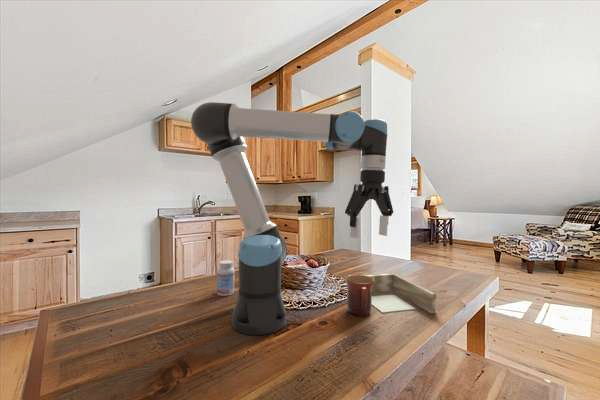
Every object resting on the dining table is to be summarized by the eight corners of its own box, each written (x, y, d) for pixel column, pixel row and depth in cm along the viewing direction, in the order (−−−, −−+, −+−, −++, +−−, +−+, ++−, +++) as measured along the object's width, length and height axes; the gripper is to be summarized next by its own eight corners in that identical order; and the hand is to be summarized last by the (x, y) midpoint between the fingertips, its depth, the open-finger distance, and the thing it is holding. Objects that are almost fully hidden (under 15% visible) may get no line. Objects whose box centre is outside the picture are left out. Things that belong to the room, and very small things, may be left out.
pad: (382, 313, 85) (382, 312, 85) (363, 298, 96) (363, 297, 96) (415, 309, 88) (415, 308, 88) (393, 295, 100) (393, 294, 100)
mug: (342, 305, 90) (343, 274, 90) (369, 306, 90) (370, 274, 89) (348, 323, 78) (349, 287, 78) (379, 324, 78) (380, 288, 77)
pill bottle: (213, 295, 96) (213, 263, 96) (222, 289, 102) (222, 259, 102) (229, 297, 95) (229, 264, 95) (237, 291, 101) (237, 260, 100)
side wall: (359, 293, 101) (360, 276, 101) (357, 291, 102) (358, 275, 102) (393, 290, 105) (393, 274, 104) (391, 288, 106) (391, 273, 106)
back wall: (431, 313, 85) (431, 294, 85) (391, 289, 106) (391, 273, 105) (435, 312, 86) (435, 293, 86) (394, 289, 106) (395, 273, 106)
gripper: (353, 166, 78) (349, 241, 79) (406, 172, 92) (402, 235, 93) (335, 167, 84) (332, 236, 85) (387, 173, 99) (384, 232, 99)
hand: (369, 236), depth 89 cm, fingers open, 13 cm apart
